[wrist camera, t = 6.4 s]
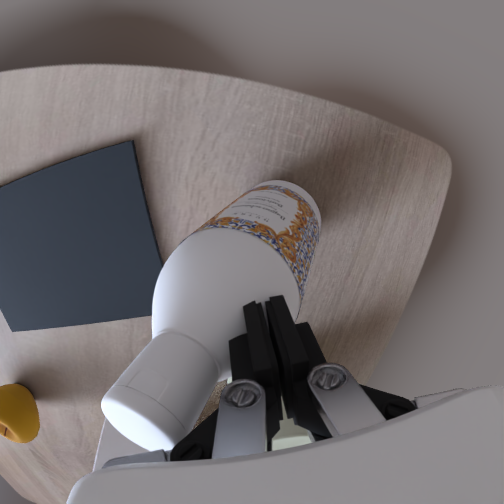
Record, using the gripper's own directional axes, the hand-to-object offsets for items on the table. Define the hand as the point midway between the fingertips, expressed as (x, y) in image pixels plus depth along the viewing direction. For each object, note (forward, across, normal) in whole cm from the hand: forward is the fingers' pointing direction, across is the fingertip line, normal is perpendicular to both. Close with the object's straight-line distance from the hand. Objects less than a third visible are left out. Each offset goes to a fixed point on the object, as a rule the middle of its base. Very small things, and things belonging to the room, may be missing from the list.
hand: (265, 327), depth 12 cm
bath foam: (+14, -3, 0) cm, 14 cm away
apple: (+15, +35, +20) cm, 43 cm away
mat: (+15, +18, 0) cm, 24 cm away
